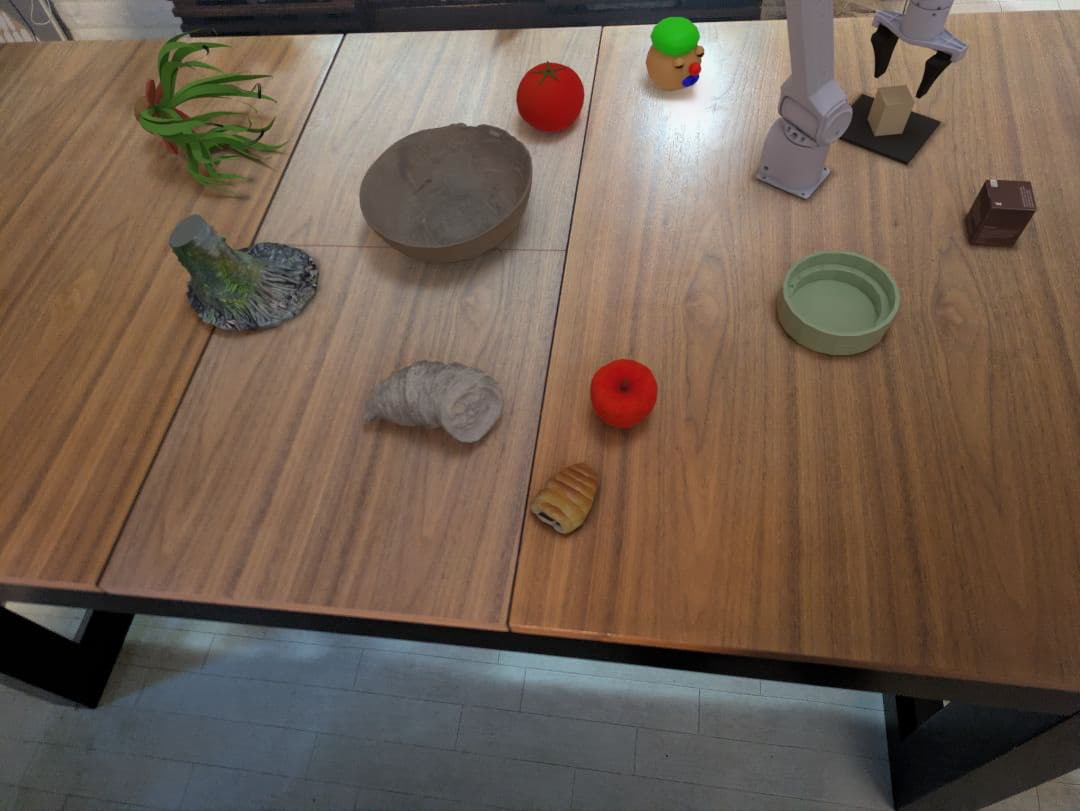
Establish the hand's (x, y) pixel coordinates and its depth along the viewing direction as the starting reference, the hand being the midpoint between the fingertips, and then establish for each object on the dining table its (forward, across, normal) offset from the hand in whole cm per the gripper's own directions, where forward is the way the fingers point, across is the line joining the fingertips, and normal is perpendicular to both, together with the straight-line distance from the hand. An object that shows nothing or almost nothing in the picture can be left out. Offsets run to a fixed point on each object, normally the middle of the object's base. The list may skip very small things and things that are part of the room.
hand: (900, 84), depth 112 cm
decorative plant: (+9, +82, +86) cm, 119 cm away
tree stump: (+9, +47, +98) cm, 108 cm away
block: (+8, 0, 0) cm, 8 cm away
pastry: (+9, -15, +85) cm, 86 cm away
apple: (+9, -10, +70) cm, 71 cm away
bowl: (+9, +35, +65) cm, 74 cm away
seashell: (+9, +7, +89) cm, 90 cm away
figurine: (+9, +34, +15) cm, 38 cm away
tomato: (+9, +43, +37) cm, 58 cm away
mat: (+8, 0, 0) cm, 9 cm away
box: (+9, -25, +9) cm, 28 cm away
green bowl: (+8, -19, +37) cm, 42 cm away
